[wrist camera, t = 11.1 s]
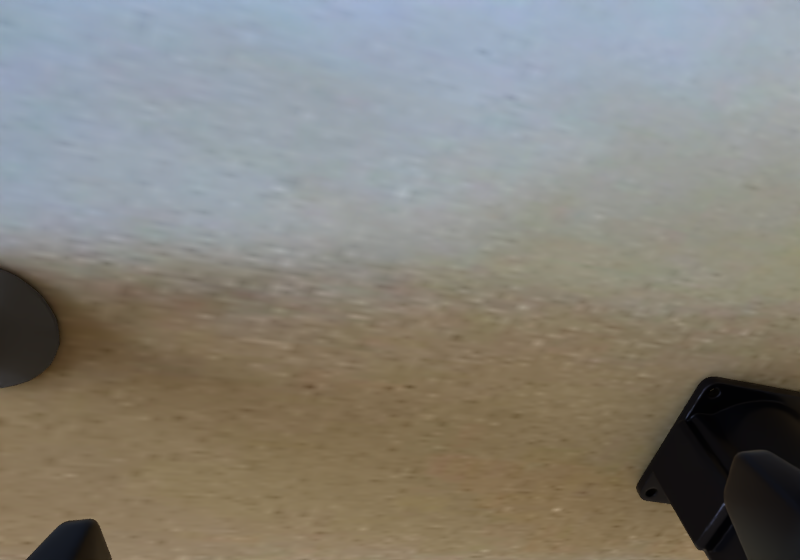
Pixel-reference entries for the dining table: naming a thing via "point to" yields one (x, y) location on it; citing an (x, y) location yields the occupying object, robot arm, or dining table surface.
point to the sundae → (24, 332)
